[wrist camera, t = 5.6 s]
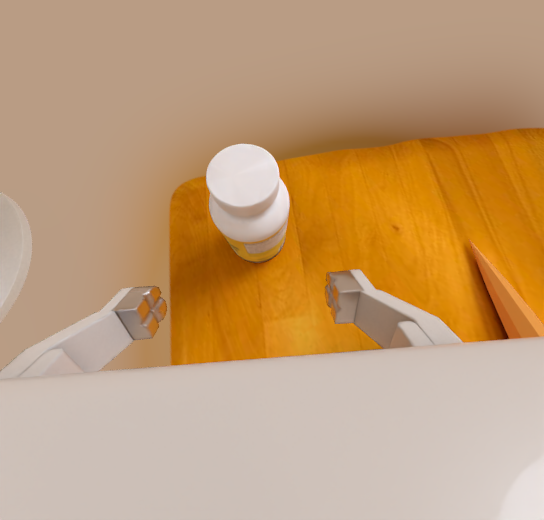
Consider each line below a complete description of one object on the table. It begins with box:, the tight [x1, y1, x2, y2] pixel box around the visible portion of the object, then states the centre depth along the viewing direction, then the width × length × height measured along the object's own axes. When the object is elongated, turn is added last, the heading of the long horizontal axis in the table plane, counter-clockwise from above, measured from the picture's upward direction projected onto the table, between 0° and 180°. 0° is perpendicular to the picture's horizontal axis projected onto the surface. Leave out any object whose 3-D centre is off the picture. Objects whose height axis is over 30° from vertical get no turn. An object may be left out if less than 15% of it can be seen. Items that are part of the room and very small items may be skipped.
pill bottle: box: [206, 144, 290, 263], centre depth 18 cm, size 6×6×12 cm
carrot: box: [469, 240, 544, 339], centre depth 19 cm, size 20×4×4 cm, turn 12°
